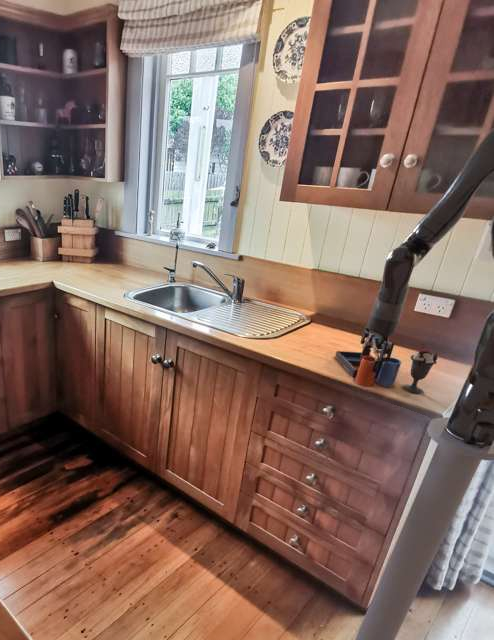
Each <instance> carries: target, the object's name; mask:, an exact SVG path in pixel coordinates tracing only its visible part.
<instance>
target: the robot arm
mask: <svg viewBox="0 0 494 640" xmlns="http://www.w3.org/2000/svg"><path fill="white" fill-rule="evenodd" d="M492 173H494V127H493V128H492V129H491V130H490V131H489V132H488V133H487V134H485V136H484V137H483V139H482V140H481V142H480V143H479V144H478V146H477V147H476V149H474V152H473V153H472V154H471V156H470V157H469V159H468V160H467V162H466V163H465V165H464V166H463V167H462V169H461V170H460V171H459V173H458V174H457V176H456V177H455V178H454V180H453V181H452V183H451V184H450V185H449V187H448V189H447V190H446V191H445V192H444V194H442V196H441V197H440V198H439V200H438V201H437V202H436V203H435V204H434V205H433V206H432V208H431V209H430V210H429V211H428V212H427V213H426V214H425V215H424V216H423V218H422V219H421V220H419V222H418V223H417V224H416V226H415V227H414V228H413V230H412V232H411V233H410V234H409V235H408V237H407V238H406V239H405V240H404V241H403V242H402V243H401V244H400V245H399V246H398V247H396V248H394V249H393V250H391V251H390V252H389V254H388V256H387V258H386V260H385V263H384V269H383V275H382V282H381V284H380V287H379V290H378V293H377V297H376V299H375V302H374V303H373V306H372V309H371V313H370V316H369V319H368V321H367V322H368V323H367V326H366V325H365V328H364V330H363V332H362V336H361V339H360V344H361V345H362V346H361V348H362V351H361V352H362V353H361V357H360V359H362V357H363V356H369V355H370V354H371V352H373V354H374V357H375V361H374V364H373V367H372V371H373V372H380V370H381V367H382V364H383V362H389V360H390V357H392V353H393V349H394V347H395V342H393V341H389V339H390V336H391V335H394V334H395V333H396V332H397V330H398V325H399V323H400V320H401V317H402V315H403V311H404V306H405V302H406V299H407V297H408V293H409V290H410V280H411V278H412V273H413V271H414V268H415V267H417V266H418V265H419V264H420V263H421V262H422V260H424V258H425V257H426V256H427V255H428V254H429V253H430V251H431V250H432V249H433V248H434V246H436V244H438V243H439V242H440V241H441V240H442V239H444V237H445V236H447V234H449V232H450V231H451V230H452V229H453V228H454V227H455V226H456V225H457V224H458V223H459V221H460V220H461V219H462V218H463V216H464V214H465V212H466V211H467V209H468V207H469V205H470V203H471V201H472V200H473V197H474V196H475V194H476V192H477V190H478V189H479V187H480V186H481V185H482V184H483V182H484V181H485V180H486V179H487V178H488V177H489V176H490V175H491V174H492ZM490 252H491V255H492V259H494V216H493V217H492V220H491V223H490ZM372 350H373V351H372ZM472 357H473V362H472V365H471V367H470V368H469V371H468V374H467V377H466V378H465V381H464V383H463V386H462V388H461V390H460V393H459V395H458V397H457V400H456V402H455V405H454V407H453V409H452V411H451V414H450V416H449V418H450V419H448V423H447V425H446V427H445V430H446V431H447V433H449V434H450V435H451V436H453V437H454V438H456V439H458V440H461V441H463V442H464V443H465V444H470V445H480V446H479V448H481V449H482V448H483V447H485V446H491V445H492V443H493V441H494V309H493V310H492V311H491V312H490V313H489V314H488V315H487V317H486V318H485V321H484V322H483V325H482V328H481V330H480V333H479V336H478V338H477V341H476V345H475V347H474V351H473V356H472Z"/></svg>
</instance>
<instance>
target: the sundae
mask: <svg viewBox="0 0 494 640" xmlns="http://www.w3.org/2000/svg"><path fill="white" fill-rule="evenodd" d="M421 347H422V348H421V349H419V350H418V352H417V353H414V354H411V356H410V360H412V362H411V367H410V368H411V369H410V376H411V378H412V379H413V381H412V383H411V384H410V385H409V384H408V385H404V386H403V389H404V390H405V391H407V392H409V393H411V394H422V393H423V390H422V389H421V388H419V387H418V383H419V381H422V380H424V379H425V378H426V377H427V376H428V374H429V373H430V371H431V369H432V367H433V366H434V365H436V364H437V363H438V362H437V360H438V354H437V353H435V354H433V352H431V351H430V349H427V347H426V346H425V343H421ZM424 348H425V349H424ZM423 349H424V350H423Z"/></svg>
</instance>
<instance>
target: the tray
mask: <svg viewBox="0 0 494 640" xmlns="http://www.w3.org/2000/svg"><path fill="white" fill-rule="evenodd" d="M361 353H362V351H360V352H359V351H345V350H343V351H342V350H336V352H335V355H334V359H335V360H336V361H337V362H338V363H339V365H341V367H343V369H344V370H345V371H346V372H347V373H348V374H349V375H350V376H351V377H352V378H356V375H357V372H358V369H359V366H360V362H361V359H360V357H361ZM369 356H372V357H374V356H373V355H372V354H371V353H370V355H369ZM378 374H379V372H376V374H375V377H374V379H377V377H378Z"/></svg>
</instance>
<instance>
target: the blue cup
mask: <svg viewBox="0 0 494 640" xmlns="http://www.w3.org/2000/svg"><path fill="white" fill-rule="evenodd" d="M401 365H402V360H400V359H398V358H395V357H392V356H391V357H390V360H389V362H383V364H382V367H381V370H380V372H379V374H378V377H377V378H376V381H375V383H376V384H377V385H379V386H381V387H384V388H393V387H394V386H395V383H396V380H397V377H398V374H399V372H400V369H401Z"/></svg>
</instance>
